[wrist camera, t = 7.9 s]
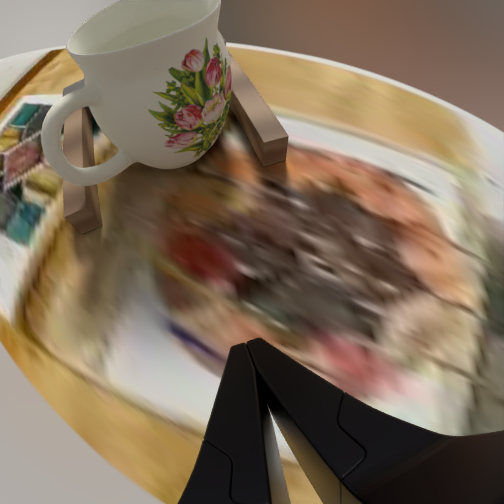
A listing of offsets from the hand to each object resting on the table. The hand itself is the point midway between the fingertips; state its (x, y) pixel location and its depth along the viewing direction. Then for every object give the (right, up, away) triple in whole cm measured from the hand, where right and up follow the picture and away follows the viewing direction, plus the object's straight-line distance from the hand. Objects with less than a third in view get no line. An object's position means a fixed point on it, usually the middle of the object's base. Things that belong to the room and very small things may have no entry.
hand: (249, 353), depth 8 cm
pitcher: (-7, +12, +18) cm, 23 cm away
